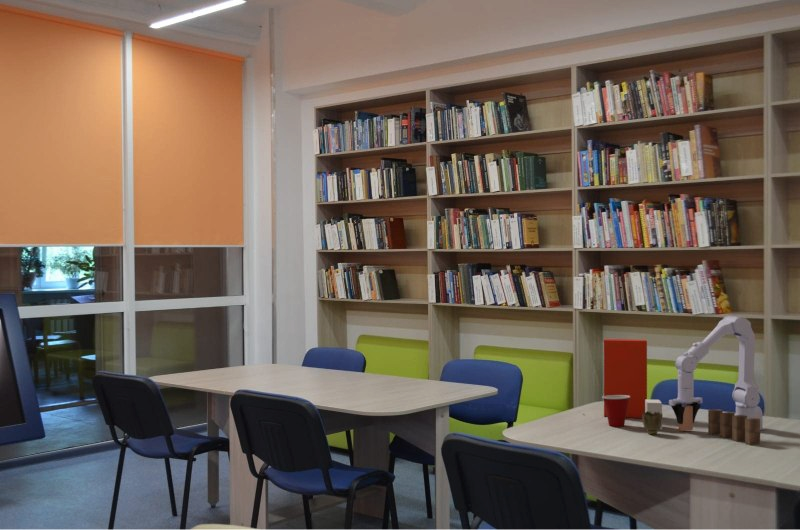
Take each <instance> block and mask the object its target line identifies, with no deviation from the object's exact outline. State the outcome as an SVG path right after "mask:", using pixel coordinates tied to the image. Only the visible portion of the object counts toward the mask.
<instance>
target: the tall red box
mask: <svg viewBox="0 0 800 530" xmlns="http://www.w3.org/2000/svg"><path fill="white" fill-rule="evenodd" d="M608 395H627V396H630V398H629V401H628V406H627V412H626V418H629V419H630V418H632V419H633V418H634V419H636V418H637V419H643V418H642V412H643V413H644V412H645V399H648V340H647V339H632V338H631V339H627V338H626V339H624V338H623V339H621V338H603V396H608ZM603 416H604V417H606V418H608V417H607V413H606V407H605V403H604V402H603Z"/></svg>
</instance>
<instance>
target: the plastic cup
mask: <svg viewBox="0 0 800 530" xmlns="http://www.w3.org/2000/svg"><path fill="white" fill-rule="evenodd" d="M601 398H602V400H603V404H604V403H605V407H606V413H607V417H606V418H607V422H608V425H609V427H613V428H622V427H624V426H625V424H626V423H625V422H626V419H627V417H626V412H627V406H628V401H629V398H630V396H627V395H608V396H604V395H602V397H601Z"/></svg>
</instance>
